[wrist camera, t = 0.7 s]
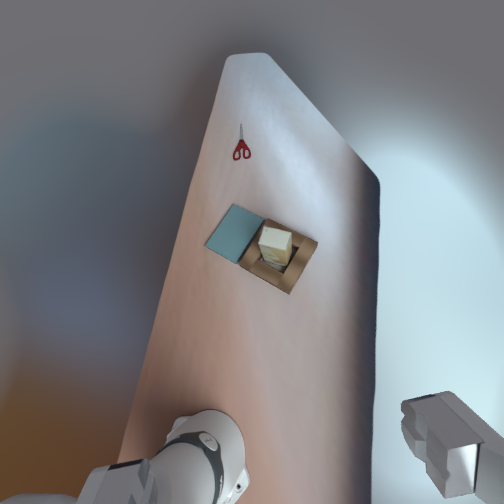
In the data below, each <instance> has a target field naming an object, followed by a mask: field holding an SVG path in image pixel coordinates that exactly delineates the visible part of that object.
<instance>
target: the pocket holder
mask: <svg viewBox="0 0 504 504" xmlns="http://www.w3.org/2000/svg"><path fill="white" fill-rule="evenodd" d="M264 226H266V227H270V228H275V229H279V230H283V231H287V232H291V233H292V247H293V248H295V249H297V250H298V251H297V252H296V254H295V256H294V257H293V259H292V261H291V262H290V264H289V266H288V267H287V269H286V271H285V273H284V274H283V273H281V272H279V271H277V270H275V269H274V268H272V267H270V266H268V265H266V264H264V263H263V262H261V261H259V260H260V258H261V257H262V253H261V250H260V247H259V244H258V242H259V239H260V236H261V233H262V230H263V227H264ZM263 227H262V229H261V230H260V232H259V233H258V235H257V236H256V238H255V239H254V241H253V243H252V244H251V246H250V247H249V249H248V250H247V252H246V253H245V255H244V257H243V258H242V260H241V261H240V263H239V265H240V266H241V267H242V268H244V269H246V270H247V271H249V272H251V273H253V274H254V275H256V276H258V277H259V278H261V279H263V280H265V281H266V282H268V283H270V284H272V285H273V286H275V287H277V288H279V289H280V290H282V291H284V292H286V293H287V294H290V292H291V291H292V289H293V287H294V286H295V284H296V282H297V280H298V279H299V277H300V275H301V273H302V272H303V270H304V268H305V267H306V265H307V263H308V261H309V260H310V258H311V256H312V254H313V253H314V251H315V249H316V248H317V245H318V242H316V241H314V240H312V239H310V238H308V237H306V236H304V235H302V234H300V233H298V232H295V231H293V230H291V229H289V228H287V227H285V226H283V225H281V224H279V223H277V222H275V221H273V220H270V219H267V221H266V222H265V224H264V225H263Z"/></svg>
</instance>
